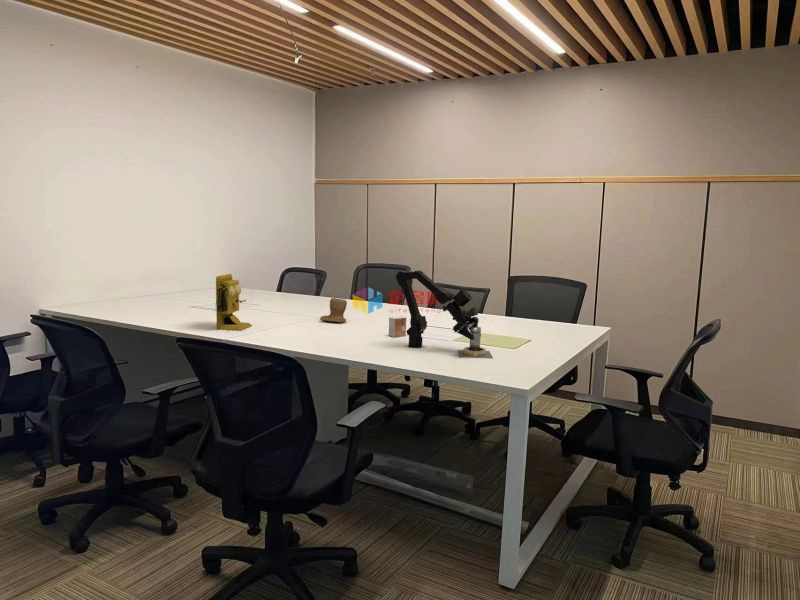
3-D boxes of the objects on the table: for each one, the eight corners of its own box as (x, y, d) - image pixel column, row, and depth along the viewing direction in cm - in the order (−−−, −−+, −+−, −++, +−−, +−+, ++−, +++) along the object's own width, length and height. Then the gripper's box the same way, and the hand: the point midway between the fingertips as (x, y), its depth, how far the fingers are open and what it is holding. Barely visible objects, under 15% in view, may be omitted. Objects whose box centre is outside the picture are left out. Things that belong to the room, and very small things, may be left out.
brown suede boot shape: (350, 321, 370) (350, 297, 368) (341, 324, 359) (341, 299, 357) (328, 319, 376) (329, 295, 374) (319, 322, 365) (319, 298, 363)
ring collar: (464, 356, 282) (464, 351, 282) (463, 351, 292) (463, 346, 292) (486, 356, 282) (486, 351, 281) (484, 352, 292) (484, 347, 292)
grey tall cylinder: (472, 355, 284) (473, 328, 282) (467, 353, 288) (468, 326, 286) (481, 354, 286) (483, 328, 284) (476, 352, 290) (477, 326, 289)
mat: (459, 358, 279) (459, 357, 279) (457, 351, 295) (457, 349, 295) (493, 359, 279) (493, 358, 279) (489, 352, 295) (489, 351, 295)
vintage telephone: (234, 334, 322) (233, 279, 318) (209, 332, 324) (209, 277, 320) (256, 324, 353) (256, 273, 349) (234, 322, 355) (234, 272, 351)
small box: (394, 337, 324) (394, 318, 323) (388, 335, 329) (388, 317, 327) (406, 336, 329) (406, 317, 327) (400, 334, 333) (400, 316, 332)
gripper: (460, 304, 278) (480, 330, 274) (476, 300, 294) (495, 325, 290) (444, 319, 283) (464, 345, 279) (460, 314, 299) (480, 338, 295)
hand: (476, 338), depth 285 cm, fingers open, 9 cm apart
